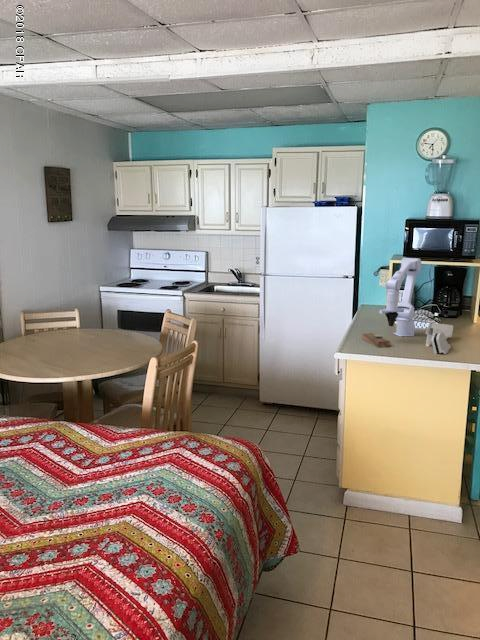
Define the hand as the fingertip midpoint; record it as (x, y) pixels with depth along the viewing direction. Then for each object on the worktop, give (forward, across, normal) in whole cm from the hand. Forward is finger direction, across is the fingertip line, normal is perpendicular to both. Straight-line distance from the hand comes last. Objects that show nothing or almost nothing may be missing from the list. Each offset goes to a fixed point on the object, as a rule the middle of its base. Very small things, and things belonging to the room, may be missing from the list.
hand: (390, 325), depth 287 cm
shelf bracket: (+9, -24, +11) cm, 27 cm away
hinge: (+9, -12, +25) cm, 29 cm away
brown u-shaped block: (+8, +10, 0) cm, 13 cm away
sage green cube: (+8, +8, 0) cm, 12 cm away
